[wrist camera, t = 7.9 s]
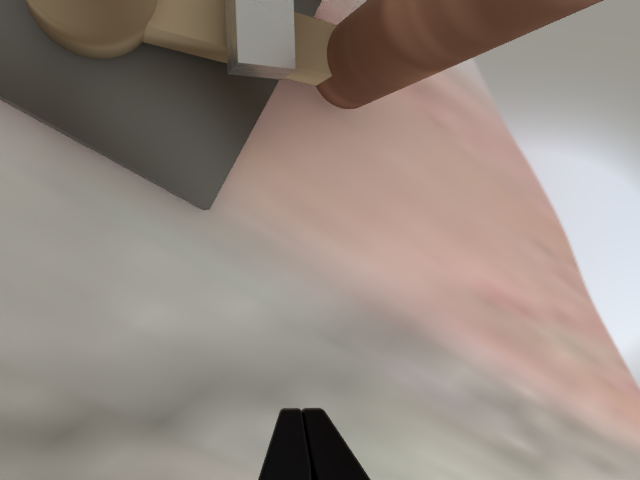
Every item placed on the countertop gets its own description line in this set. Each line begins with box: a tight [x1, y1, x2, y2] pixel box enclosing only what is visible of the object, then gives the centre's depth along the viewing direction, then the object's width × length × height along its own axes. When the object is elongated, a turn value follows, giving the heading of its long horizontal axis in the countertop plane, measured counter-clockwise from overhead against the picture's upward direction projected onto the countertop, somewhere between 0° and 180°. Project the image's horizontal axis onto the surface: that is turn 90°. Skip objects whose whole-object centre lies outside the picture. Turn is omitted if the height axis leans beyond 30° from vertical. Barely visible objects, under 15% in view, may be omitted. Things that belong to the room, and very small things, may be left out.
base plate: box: [0, 0, 322, 210], centre depth 16 cm, size 10×9×1 cm
